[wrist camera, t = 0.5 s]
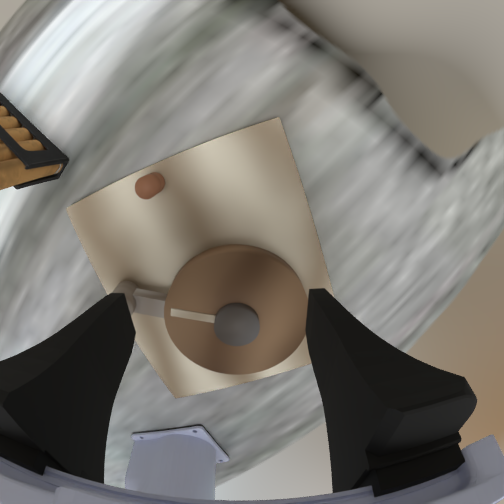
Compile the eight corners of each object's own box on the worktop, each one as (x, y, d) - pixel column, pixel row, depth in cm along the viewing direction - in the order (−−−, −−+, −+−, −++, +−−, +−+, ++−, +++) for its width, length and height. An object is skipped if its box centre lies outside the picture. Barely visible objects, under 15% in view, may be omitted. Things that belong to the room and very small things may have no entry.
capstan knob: (321, 257, 21) (339, 284, 17) (287, 368, 24) (294, 404, 20) (118, 224, 19) (92, 244, 15) (119, 342, 23) (102, 375, 19)
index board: (177, 391, 26) (172, 414, 24) (72, 205, 20) (51, 215, 17) (343, 343, 25) (353, 366, 22) (277, 118, 19) (283, 114, 16)
